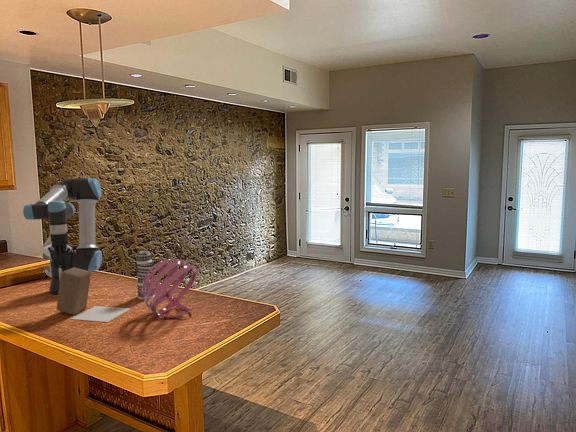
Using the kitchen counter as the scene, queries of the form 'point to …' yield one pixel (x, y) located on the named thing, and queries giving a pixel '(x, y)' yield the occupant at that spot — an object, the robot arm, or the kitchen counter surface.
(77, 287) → the wooden block
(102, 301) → the kitchen counter surface
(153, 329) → the kitchen counter surface
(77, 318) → the mat
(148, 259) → the decorative candle
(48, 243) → the gable box
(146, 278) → the spiral basket
